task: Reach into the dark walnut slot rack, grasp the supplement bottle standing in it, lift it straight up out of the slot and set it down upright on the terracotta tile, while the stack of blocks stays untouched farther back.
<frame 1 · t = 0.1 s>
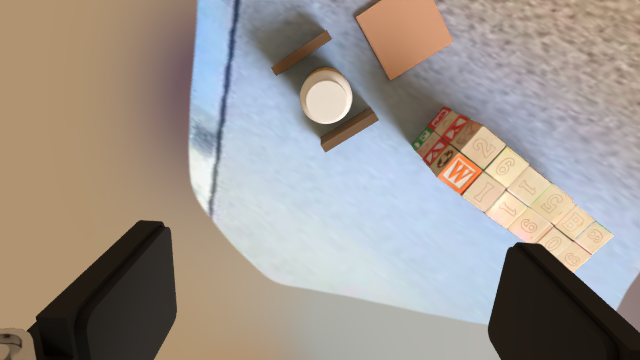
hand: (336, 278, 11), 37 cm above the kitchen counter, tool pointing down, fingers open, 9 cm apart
terracotta tile: (404, 29, 43), on the kitchen counter
slot rack: (325, 90, 45), on the kitchen counter
supplement bottle: (325, 90, 45), on the kitchen counter
stack of blocks: (487, 174, 49), on the kitchen counter
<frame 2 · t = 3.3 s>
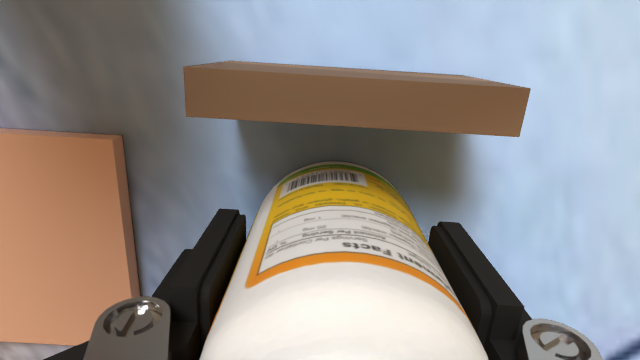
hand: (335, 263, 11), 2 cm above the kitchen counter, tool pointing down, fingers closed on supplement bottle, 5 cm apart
terracotta tile: (21, 239, 13), on the kitchen counter
slot rack: (333, 232, 13), on the kitchen counter
supplement bottle: (333, 229, 13), on the kitchen counter, touching gripper
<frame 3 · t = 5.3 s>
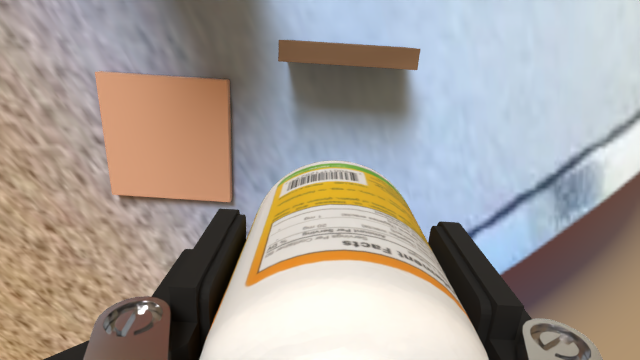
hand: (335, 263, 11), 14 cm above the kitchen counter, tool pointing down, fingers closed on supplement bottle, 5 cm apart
terracotta tile: (170, 138, 25), on the kitchen counter
slot rack: (339, 134, 24), on the kitchen counter
supplement bottle: (333, 228, 13), point 12 cm above the kitchen counter, touching gripper
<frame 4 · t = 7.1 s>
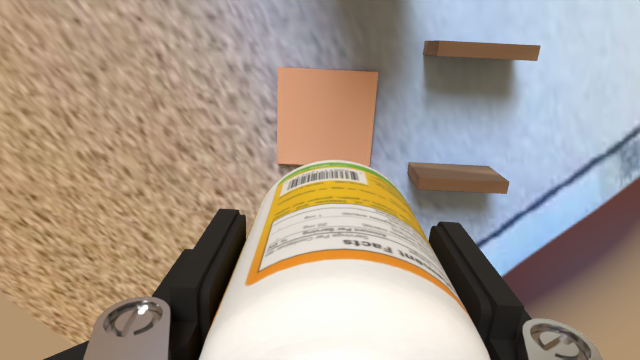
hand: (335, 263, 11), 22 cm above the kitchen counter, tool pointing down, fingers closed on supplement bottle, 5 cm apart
terracotta tile: (325, 118, 32), on the kitchen counter
slot rack: (457, 113, 32), on the kitchen counter
supplement bottle: (333, 228, 13), point 20 cm above the kitchen counter, touching gripper
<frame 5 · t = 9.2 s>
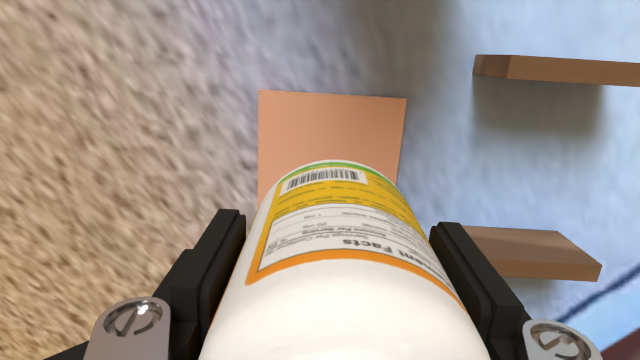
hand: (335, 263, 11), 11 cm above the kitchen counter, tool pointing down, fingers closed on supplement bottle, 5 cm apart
terracotta tile: (327, 163, 22), on the kitchen counter
slot rack: (517, 157, 22), on the kitchen counter
supplement bottle: (333, 227, 13), point 9 cm above the kitchen counter, touching gripper
when the fingers open (4 cm above the kitchen counter, at t = 11.1 s): supplement bottle drops 1 cm, resting on terracotta tile.
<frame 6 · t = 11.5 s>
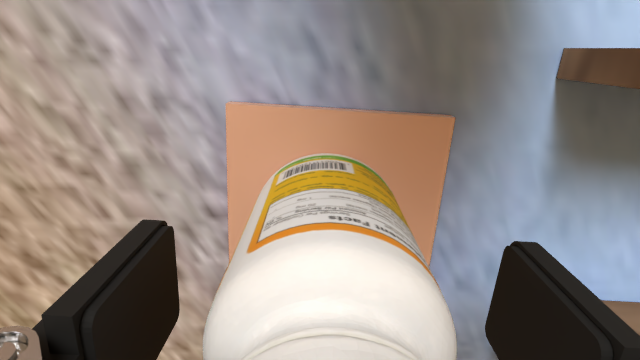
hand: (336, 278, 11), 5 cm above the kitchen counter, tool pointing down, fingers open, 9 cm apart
terracotta tile: (332, 209, 15), on the kitchen counter
slot rack: (614, 202, 15), on the kitchen counter
supplement bottle: (326, 216, 15), resting on terracotta tile
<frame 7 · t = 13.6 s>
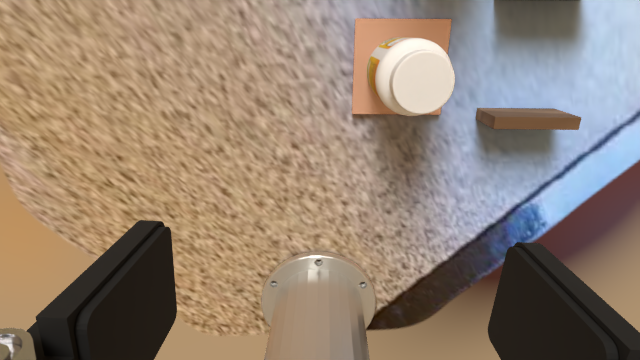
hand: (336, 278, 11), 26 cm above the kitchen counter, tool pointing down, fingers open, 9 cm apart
terracotta tile: (398, 68, 34), on the kitchen counter
slot rack: (525, 56, 33), on the kitchen counter
supplement bottle: (396, 69, 33), resting on terracotta tile
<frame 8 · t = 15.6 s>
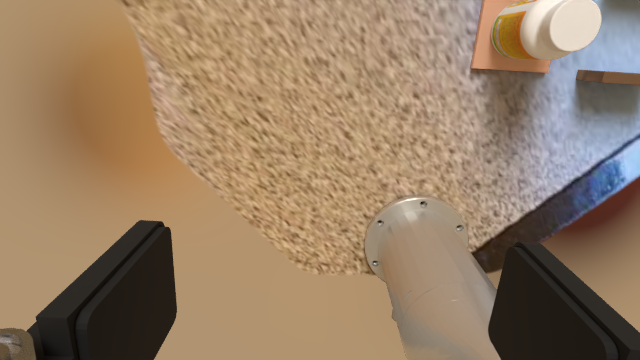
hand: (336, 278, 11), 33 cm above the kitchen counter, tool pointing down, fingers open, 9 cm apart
terracotta tile: (516, 30, 39), on the kitchen counter
slot rack: (624, 26, 39), on the kitchen counter
supplement bottle: (515, 30, 39), resting on terracotta tile
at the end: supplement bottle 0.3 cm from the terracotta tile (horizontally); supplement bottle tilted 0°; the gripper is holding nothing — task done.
